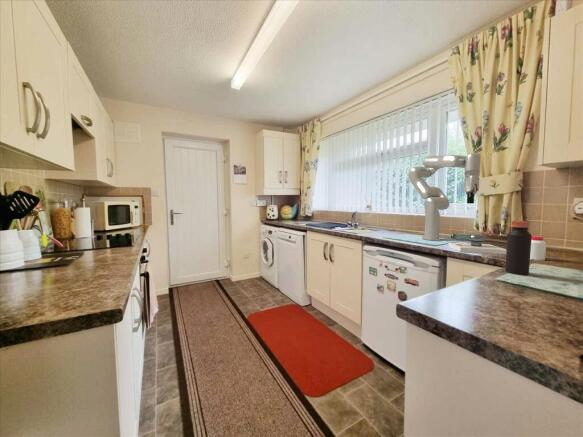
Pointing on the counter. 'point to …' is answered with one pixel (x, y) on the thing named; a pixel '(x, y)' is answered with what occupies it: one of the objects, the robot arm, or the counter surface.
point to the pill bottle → (538, 248)
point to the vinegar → (518, 248)
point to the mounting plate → (477, 248)
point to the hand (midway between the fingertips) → (470, 203)
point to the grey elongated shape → (471, 238)
